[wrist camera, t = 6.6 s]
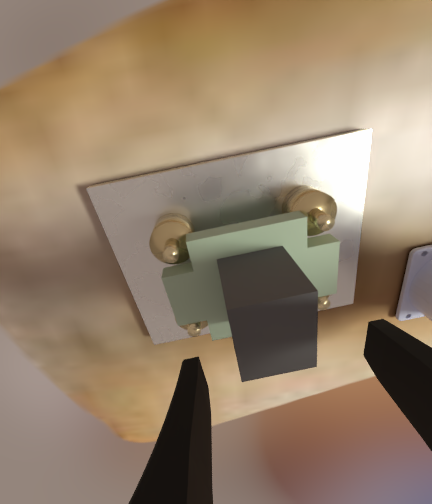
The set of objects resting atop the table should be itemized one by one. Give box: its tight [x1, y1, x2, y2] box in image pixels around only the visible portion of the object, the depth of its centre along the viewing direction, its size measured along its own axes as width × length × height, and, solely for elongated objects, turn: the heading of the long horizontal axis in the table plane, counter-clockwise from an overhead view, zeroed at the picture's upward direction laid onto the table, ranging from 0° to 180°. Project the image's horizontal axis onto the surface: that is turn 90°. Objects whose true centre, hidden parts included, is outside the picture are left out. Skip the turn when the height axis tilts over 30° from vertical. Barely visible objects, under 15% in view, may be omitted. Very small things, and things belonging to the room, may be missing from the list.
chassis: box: [86, 129, 372, 345], centre depth 17 cm, size 18×14×4 cm
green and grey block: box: [161, 211, 340, 382], centre depth 14 cm, size 11×8×6 cm
